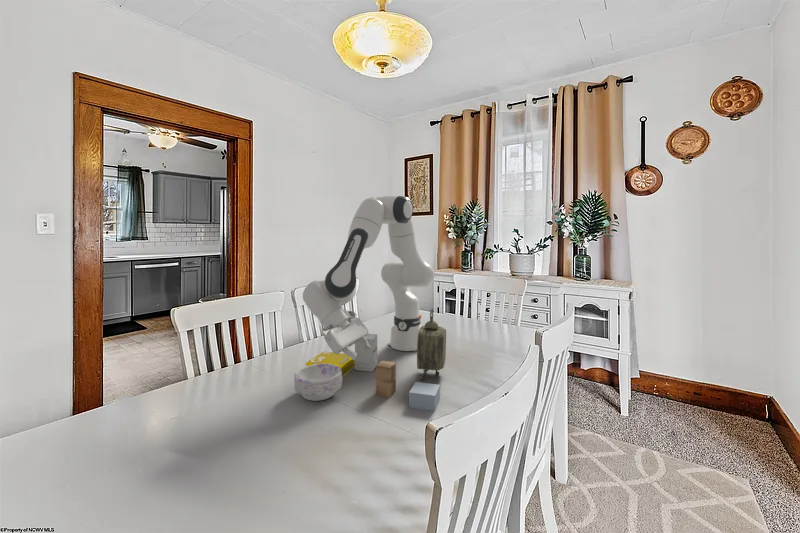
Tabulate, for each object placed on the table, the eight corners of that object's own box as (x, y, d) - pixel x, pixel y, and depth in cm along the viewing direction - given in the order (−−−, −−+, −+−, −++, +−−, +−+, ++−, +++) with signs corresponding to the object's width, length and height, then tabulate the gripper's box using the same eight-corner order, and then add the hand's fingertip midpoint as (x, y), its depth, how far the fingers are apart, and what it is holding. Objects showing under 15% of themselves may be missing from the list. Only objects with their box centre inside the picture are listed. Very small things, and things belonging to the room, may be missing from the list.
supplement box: (372, 371, 140) (372, 339, 139) (354, 370, 142) (354, 338, 140) (377, 364, 148) (377, 334, 146) (360, 363, 149) (359, 332, 148)
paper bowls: (284, 401, 117) (284, 376, 116) (312, 382, 131) (311, 360, 130) (326, 409, 111) (326, 384, 110) (350, 389, 126) (350, 366, 125)
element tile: (339, 379, 134) (339, 367, 134) (303, 374, 139) (303, 362, 138) (357, 365, 148) (356, 353, 148) (323, 361, 153) (323, 349, 152)
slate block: (415, 396, 120) (415, 381, 120) (439, 399, 118) (440, 384, 118) (409, 407, 113) (409, 392, 112) (434, 411, 111) (435, 395, 110)
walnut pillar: (382, 389, 126) (382, 360, 124) (395, 391, 124) (395, 362, 123) (375, 395, 121) (375, 365, 120) (390, 397, 119) (390, 367, 118)
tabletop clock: (422, 367, 145) (423, 304, 143) (445, 369, 143) (446, 305, 141) (416, 382, 131) (417, 312, 129) (442, 384, 129) (443, 314, 127)
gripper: (325, 323, 116) (353, 358, 113) (356, 310, 135) (381, 339, 132) (313, 336, 118) (341, 370, 115) (345, 321, 137) (369, 350, 134)
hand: (362, 353), depth 124 cm, fingers open, 8 cm apart
